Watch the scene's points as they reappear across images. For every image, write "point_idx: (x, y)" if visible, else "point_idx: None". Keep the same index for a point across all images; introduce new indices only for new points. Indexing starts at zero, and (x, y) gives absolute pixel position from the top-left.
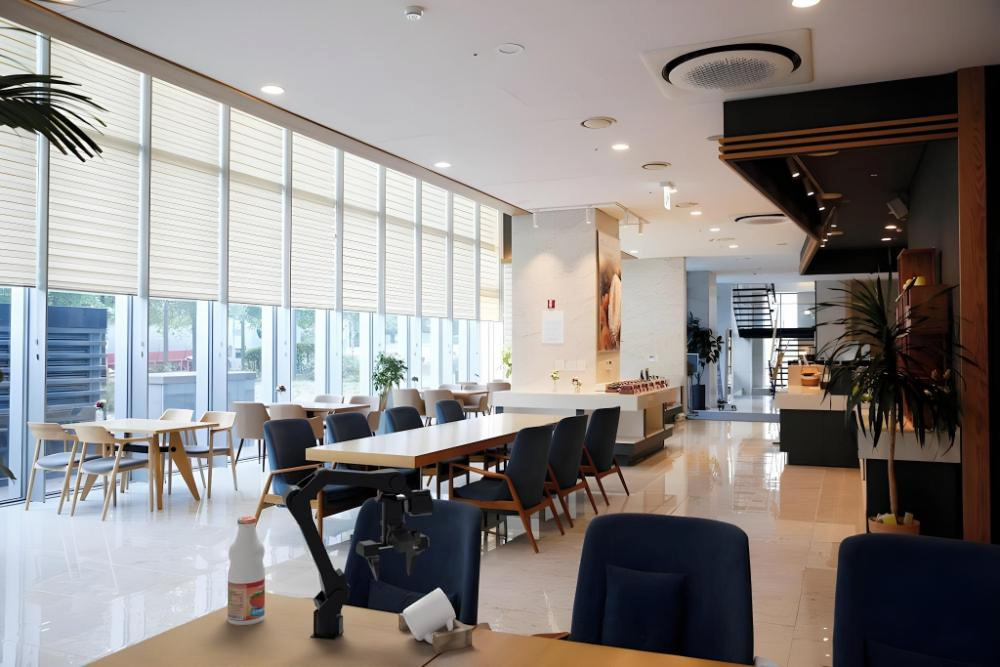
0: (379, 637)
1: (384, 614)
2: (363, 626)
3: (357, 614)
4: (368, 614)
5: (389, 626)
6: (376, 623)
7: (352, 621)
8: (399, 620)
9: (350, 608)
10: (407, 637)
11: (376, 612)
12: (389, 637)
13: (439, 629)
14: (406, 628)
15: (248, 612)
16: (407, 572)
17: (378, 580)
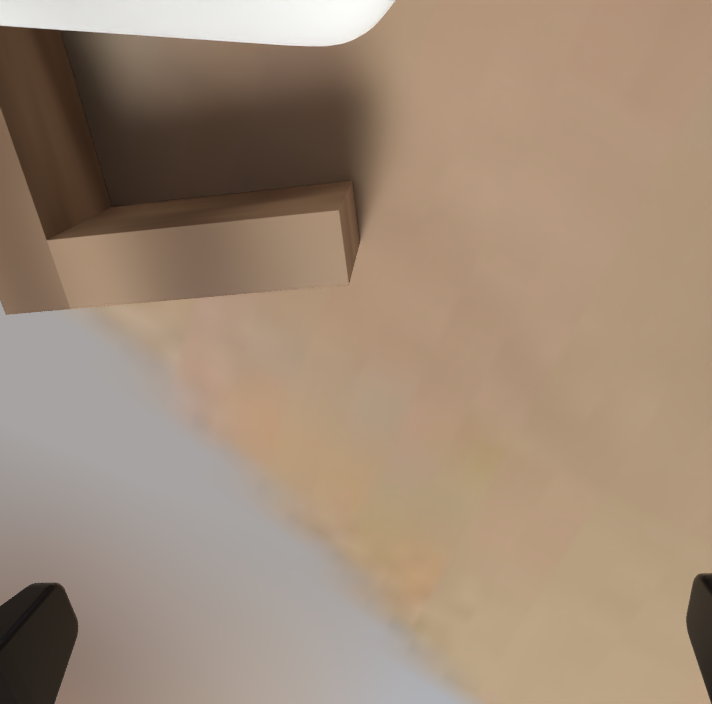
0: (572, 139)
1: (346, 536)
2: (564, 414)
3: (497, 604)
4: (437, 577)
5: (399, 330)
6: (458, 424)
7: (582, 523)
8: (351, 251)
9: (489, 690)
10: None
11: (379, 583)
12: (500, 96)
13: None
14: (310, 189)
15: None
16: (66, 658)
17: (698, 575)
